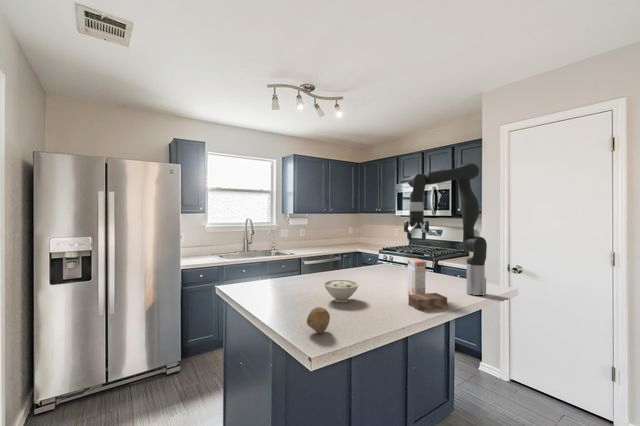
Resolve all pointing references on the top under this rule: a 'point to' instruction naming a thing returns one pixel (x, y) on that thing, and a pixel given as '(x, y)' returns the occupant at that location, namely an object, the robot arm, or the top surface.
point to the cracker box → (416, 276)
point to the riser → (427, 301)
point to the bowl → (341, 289)
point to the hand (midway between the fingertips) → (416, 239)
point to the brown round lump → (318, 319)
